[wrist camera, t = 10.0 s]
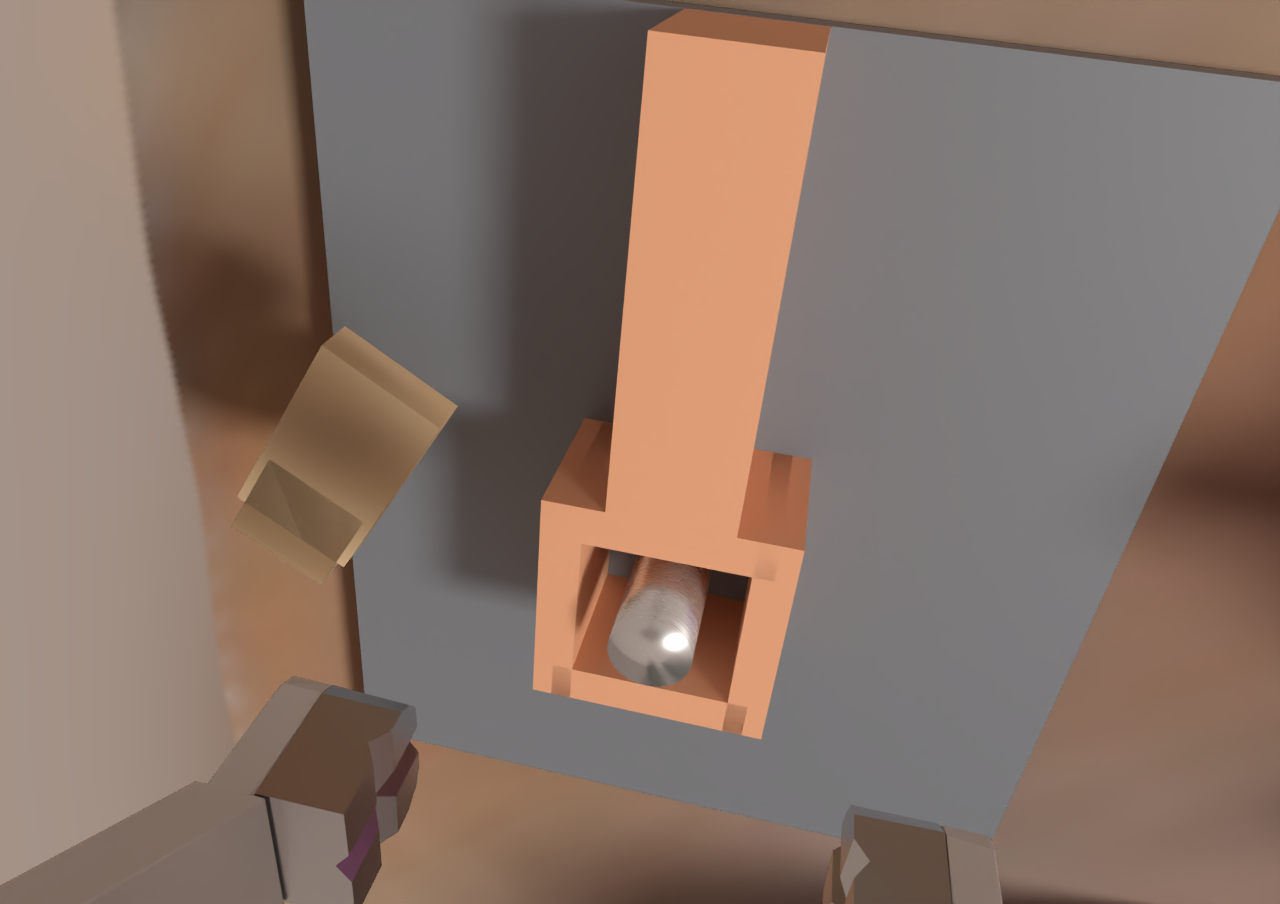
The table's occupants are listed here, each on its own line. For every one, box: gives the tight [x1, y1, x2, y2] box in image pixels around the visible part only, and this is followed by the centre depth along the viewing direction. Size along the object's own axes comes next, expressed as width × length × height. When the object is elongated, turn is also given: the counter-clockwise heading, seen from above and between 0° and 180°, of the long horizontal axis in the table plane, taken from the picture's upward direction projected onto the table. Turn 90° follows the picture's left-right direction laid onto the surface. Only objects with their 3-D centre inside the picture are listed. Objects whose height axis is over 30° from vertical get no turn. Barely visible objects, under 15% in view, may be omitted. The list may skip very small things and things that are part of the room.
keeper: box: [231, 326, 458, 585], centre depth 23 cm, size 6×3×7 cm, turn 145°
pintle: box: [607, 555, 712, 687], centre depth 24 cm, size 2×2×6 cm
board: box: [304, 0, 1280, 841], centre depth 26 cm, size 24×21×1 cm
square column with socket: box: [533, 9, 831, 739], centre depth 21 cm, size 16×6×4 cm, turn 175°
